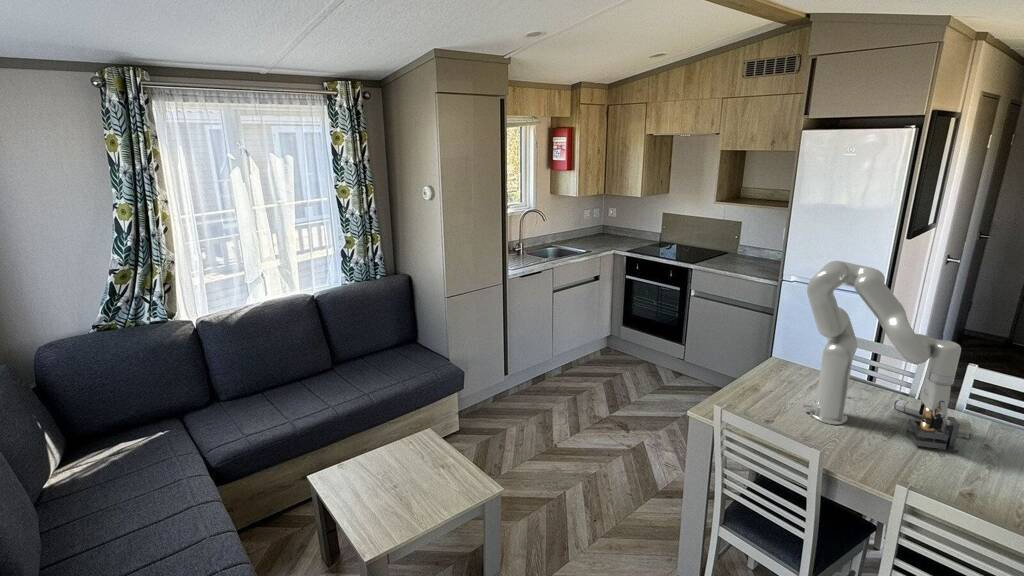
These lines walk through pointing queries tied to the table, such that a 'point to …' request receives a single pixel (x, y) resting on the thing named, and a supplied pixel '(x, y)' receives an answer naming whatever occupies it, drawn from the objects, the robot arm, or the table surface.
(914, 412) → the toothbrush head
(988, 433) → the table surface
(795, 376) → the table surface
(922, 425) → the copper tube
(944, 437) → the collar bracket
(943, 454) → the table surface
